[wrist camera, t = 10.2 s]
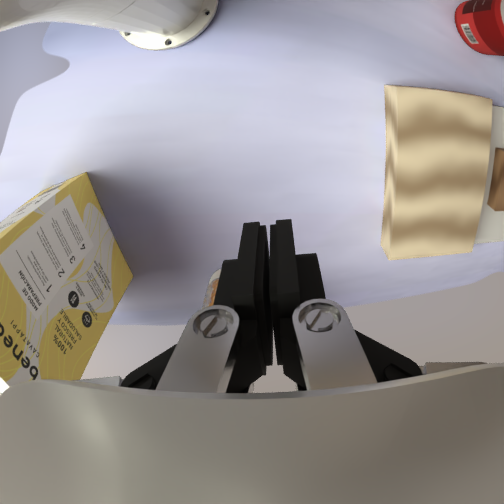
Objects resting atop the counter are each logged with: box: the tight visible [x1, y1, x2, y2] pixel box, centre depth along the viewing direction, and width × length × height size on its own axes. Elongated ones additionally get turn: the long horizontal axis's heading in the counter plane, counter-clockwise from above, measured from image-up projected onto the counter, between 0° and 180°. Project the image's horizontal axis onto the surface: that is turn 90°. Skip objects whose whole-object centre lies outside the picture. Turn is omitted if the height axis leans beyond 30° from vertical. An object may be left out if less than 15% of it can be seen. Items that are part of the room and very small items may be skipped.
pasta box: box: [0, 172, 133, 395], centre depth 31 cm, size 18×10×28 cm, turn 13°
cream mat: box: [474, 105, 504, 244], centre depth 34 cm, size 22×13×1 cm, turn 7°
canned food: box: [455, 0, 504, 56], centre depth 18 cm, size 8×8×11 cm
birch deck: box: [381, 85, 492, 260], centre depth 33 cm, size 22×14×4 cm, turn 7°
